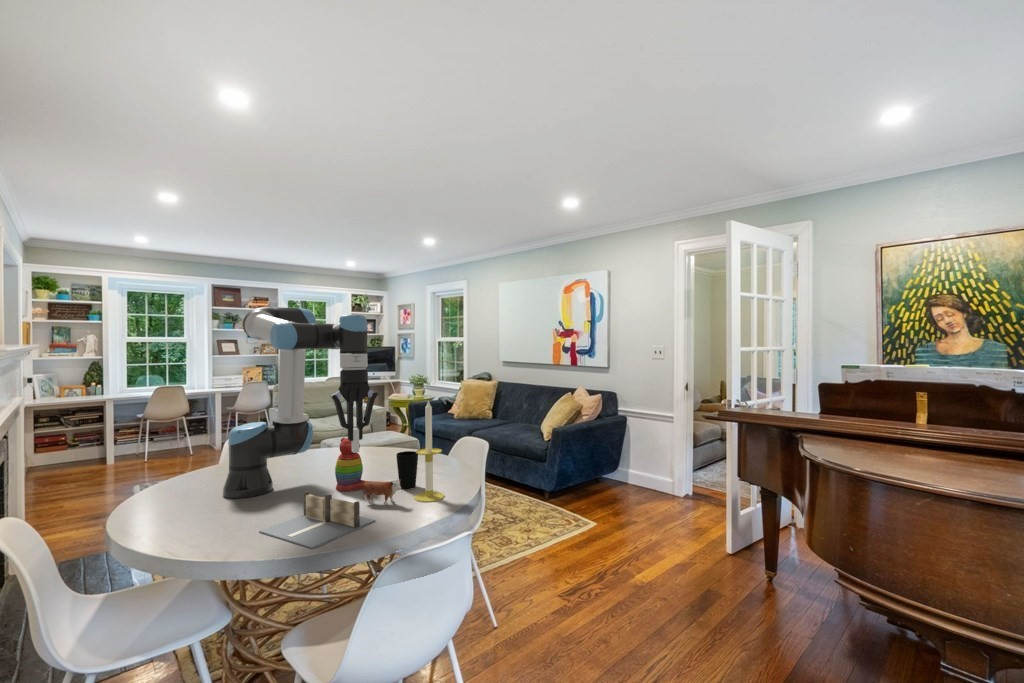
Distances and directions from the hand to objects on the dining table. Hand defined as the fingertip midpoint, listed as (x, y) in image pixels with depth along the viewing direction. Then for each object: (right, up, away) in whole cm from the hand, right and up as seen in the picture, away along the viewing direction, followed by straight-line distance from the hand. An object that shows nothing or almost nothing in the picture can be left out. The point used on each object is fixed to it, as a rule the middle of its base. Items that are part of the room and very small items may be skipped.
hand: (355, 451), depth 134 cm
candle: (+17, -21, +22) cm, 35 cm away
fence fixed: (-12, -20, +3) cm, 24 cm away
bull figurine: (+3, -21, +16) cm, 27 cm away
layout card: (-9, -20, -2) cm, 23 cm away
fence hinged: (-2, -19, -3) cm, 20 cm away
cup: (+7, -21, +34) cm, 40 cm away
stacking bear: (-13, -21, +34) cm, 42 cm away
